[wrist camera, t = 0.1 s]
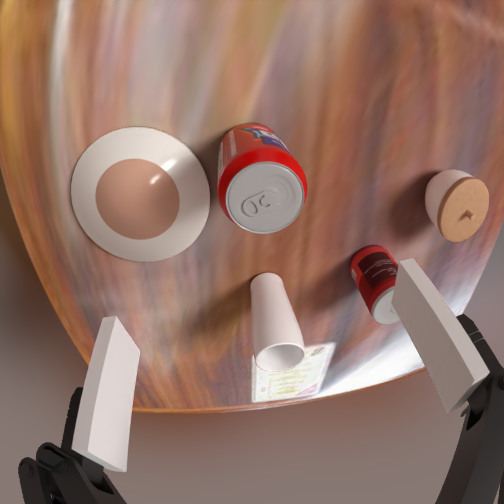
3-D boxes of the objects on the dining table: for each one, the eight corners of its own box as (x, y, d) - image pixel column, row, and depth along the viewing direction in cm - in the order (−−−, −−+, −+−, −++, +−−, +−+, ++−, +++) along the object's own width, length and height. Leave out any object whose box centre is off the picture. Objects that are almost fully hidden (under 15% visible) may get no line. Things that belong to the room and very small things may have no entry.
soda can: (207, 139, 35) (198, 184, 23) (263, 110, 34) (289, 137, 21) (237, 189, 39) (245, 254, 27) (290, 162, 38) (325, 216, 26)
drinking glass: (294, 279, 49) (317, 352, 37) (268, 304, 52) (281, 377, 40) (263, 260, 46) (279, 336, 34) (237, 287, 49) (243, 364, 37)
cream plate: (55, 153, 33) (51, 156, 32) (191, 108, 33) (190, 109, 32) (104, 267, 44) (102, 272, 43) (224, 244, 44) (224, 248, 43)
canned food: (369, 285, 52) (392, 329, 43) (339, 270, 49) (362, 317, 40) (396, 255, 49) (426, 296, 40) (368, 236, 46) (398, 279, 37)
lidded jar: (467, 192, 42) (500, 218, 35) (428, 229, 46) (457, 260, 38) (448, 147, 37) (486, 169, 30) (403, 188, 41) (437, 217, 34)
